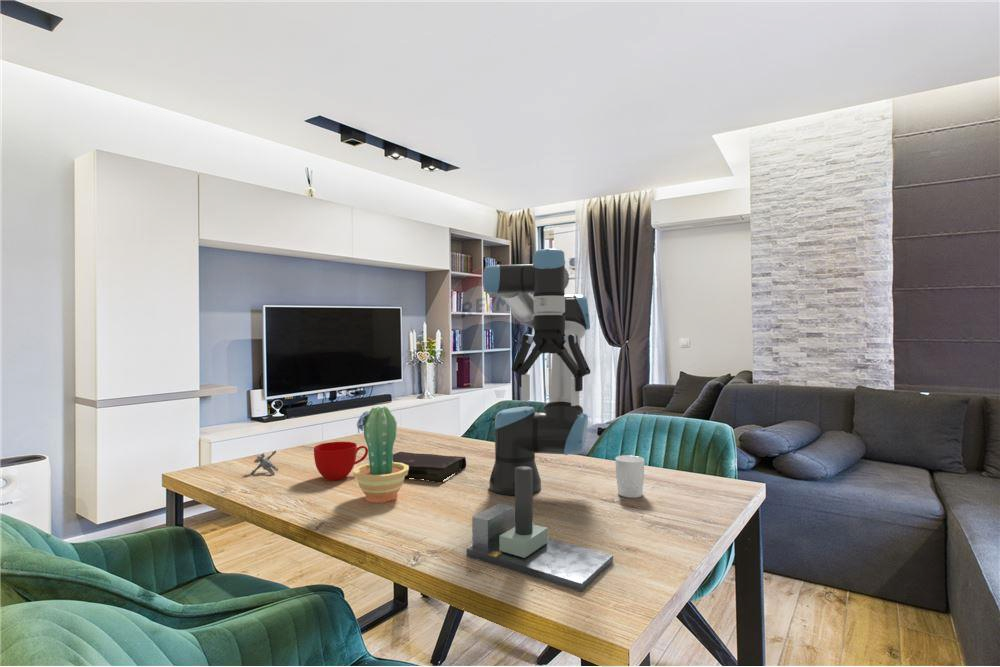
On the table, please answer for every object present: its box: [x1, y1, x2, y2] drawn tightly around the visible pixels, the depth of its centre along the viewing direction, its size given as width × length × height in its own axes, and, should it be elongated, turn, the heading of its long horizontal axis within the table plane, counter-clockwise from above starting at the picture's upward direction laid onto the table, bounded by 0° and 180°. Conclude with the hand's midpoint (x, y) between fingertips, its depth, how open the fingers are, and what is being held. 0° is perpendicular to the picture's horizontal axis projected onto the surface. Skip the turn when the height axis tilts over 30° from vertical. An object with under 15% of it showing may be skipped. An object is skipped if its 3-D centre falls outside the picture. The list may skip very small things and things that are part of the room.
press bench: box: [465, 503, 614, 593], centre depth 105 cm, size 26×14×8 cm, turn 55°
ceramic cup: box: [313, 441, 369, 481], centre depth 165 cm, size 13×17×10 cm
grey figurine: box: [250, 450, 279, 476], centre depth 170 cm, size 10×6×9 cm
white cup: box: [615, 454, 645, 499], centre depth 146 cm, size 8×8×10 cm
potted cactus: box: [352, 406, 409, 504], centre depth 144 cm, size 15×15×25 cm
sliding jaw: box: [499, 466, 549, 558], centre depth 107 cm, size 6×9×16 cm, turn 145°
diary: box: [393, 451, 467, 483], centre depth 170 cm, size 19×25×5 cm
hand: (549, 403), depth 125 cm, fingers open, 13 cm apart
